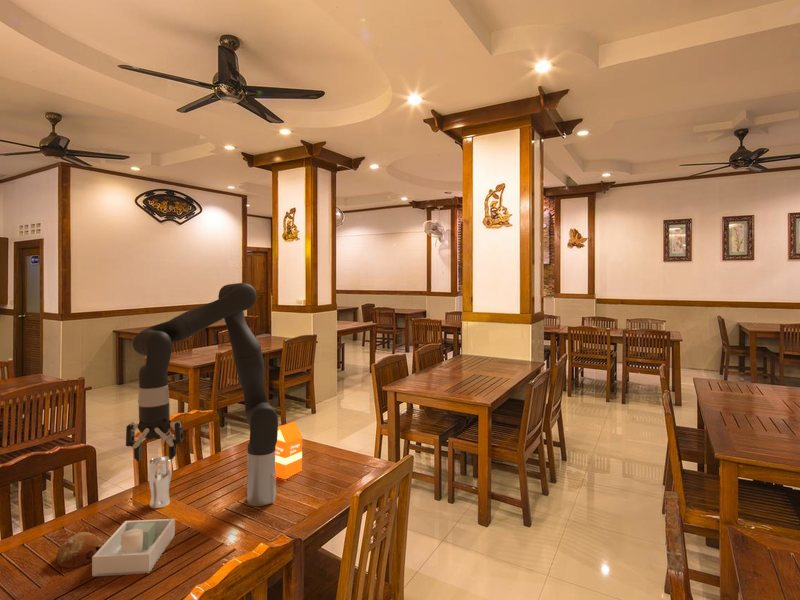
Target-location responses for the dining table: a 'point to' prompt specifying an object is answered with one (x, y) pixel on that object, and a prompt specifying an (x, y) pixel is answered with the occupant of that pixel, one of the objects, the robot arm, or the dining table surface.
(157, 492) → the beer glass
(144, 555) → the grey tote
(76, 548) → the bread roll
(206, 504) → the dining table surface
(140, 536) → the white pillar candle
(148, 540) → the sage block
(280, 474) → the orange juice
